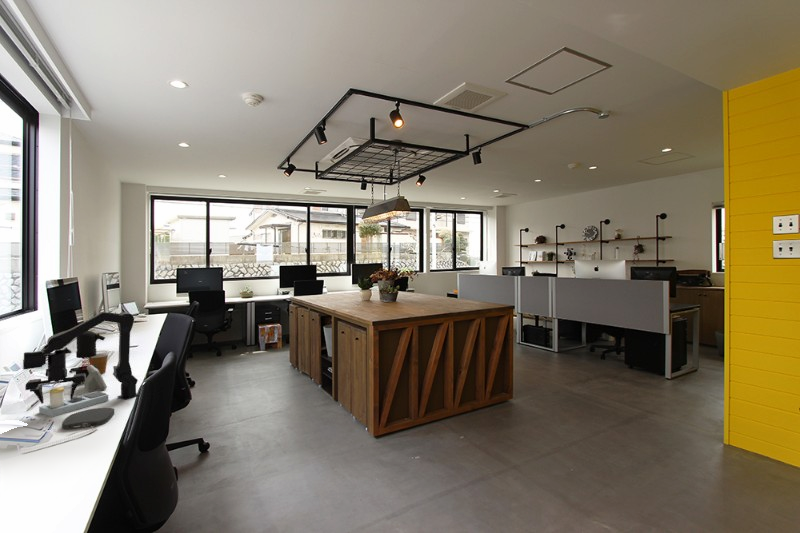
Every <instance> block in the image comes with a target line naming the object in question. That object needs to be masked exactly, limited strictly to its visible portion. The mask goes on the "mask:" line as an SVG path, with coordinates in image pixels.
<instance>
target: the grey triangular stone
mask: <svg viewBox="0 0 800 533" xmlns="http://www.w3.org/2000/svg"><path fill="white" fill-rule="evenodd" d="M86 366H87V365H86ZM86 368H87V370H88V372H89V375H88V377H87V378H86V380H85V382H83V384H84V386H83V387H84V389H85V390H86V391H87V392H95V391H100V390H102V391H104V390H106V389H107V387H108V386H107V383H106V382H105V380H104V378H103V376H102V374H100V372H99V370H98V369H96V368H95V367H94V366H93V365H88V366H87V367H86Z"/></svg>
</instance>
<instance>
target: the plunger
mask: <svg viewBox="0 0 800 533" xmlns="http://www.w3.org/2000/svg"><path fill="white" fill-rule="evenodd" d="M82 395H83V394H82ZM82 395H80V394H78V395H73V397H72V399H71V403H75V402H78V401H82Z"/></svg>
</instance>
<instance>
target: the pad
mask: <svg viewBox="0 0 800 533" xmlns="http://www.w3.org/2000/svg"><path fill="white" fill-rule="evenodd" d="M93 392H94V393H92V392H89V393H90V394H89V393H85V394H86V395H85V394H82V395H83V396H85V397H88V398H91V399H92V398H95V397H99V396H102V395H106V394H107V393H105V392H102V391H100V390H96V391H93Z"/></svg>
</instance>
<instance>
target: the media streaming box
mask: <svg viewBox="0 0 800 533" xmlns="http://www.w3.org/2000/svg"><path fill="white" fill-rule="evenodd" d="M114 415H115V409H114V408H112V407H98V408H97V407H95V408H90V409H85V410H81V411H77V412H75V413H72V414H70V415H69V416H67V417H66V418H65V419H64V420H63V421H62V423H61V428H62V430H63V431H65V430H78V428H79V429H85V427H87V428H92V427H91V426H94V427H99V426H102V425H104V424H107V423H108V422H109V421H110V420H111V419H112V418H113V416H114Z"/></svg>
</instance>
